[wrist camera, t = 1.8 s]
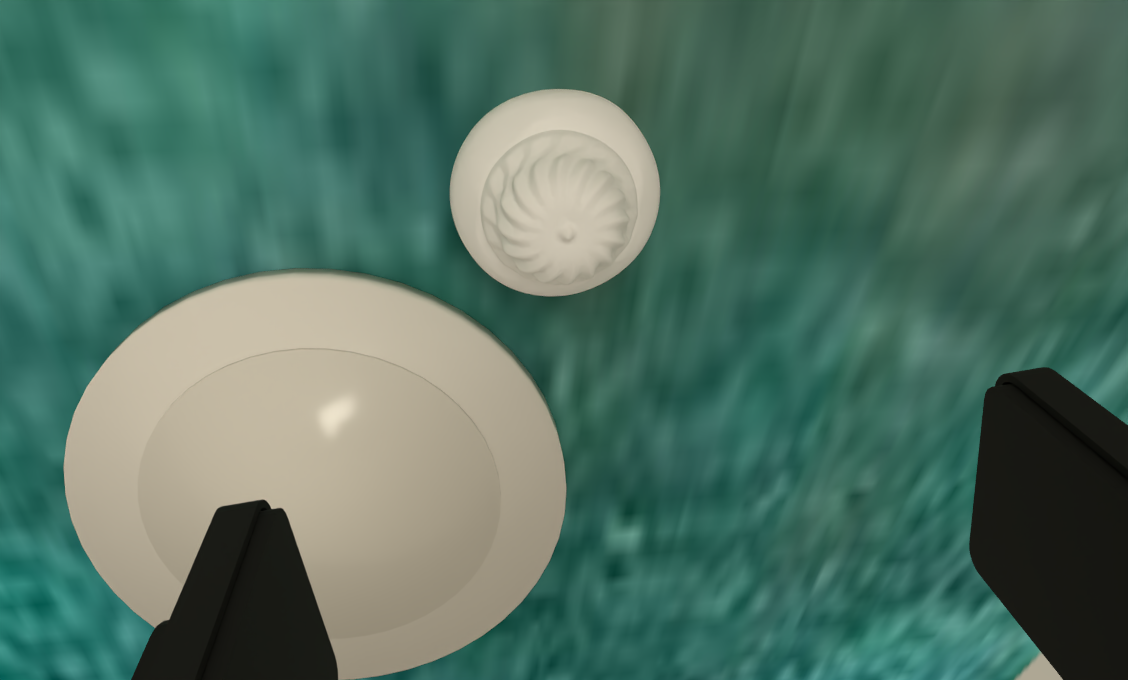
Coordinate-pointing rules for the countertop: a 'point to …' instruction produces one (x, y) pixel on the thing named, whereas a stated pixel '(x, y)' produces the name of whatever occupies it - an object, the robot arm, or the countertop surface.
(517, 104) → the muffin
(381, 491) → the plate
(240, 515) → the robot arm
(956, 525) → the countertop surface
